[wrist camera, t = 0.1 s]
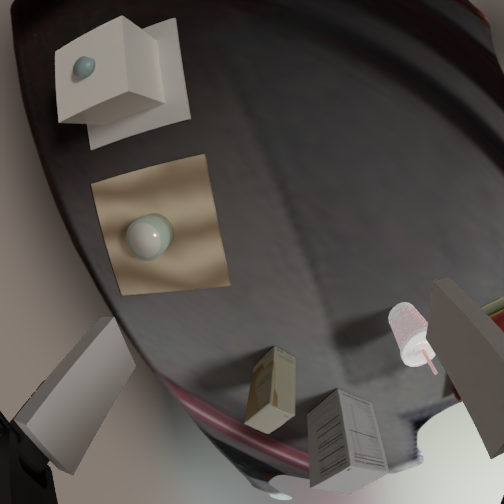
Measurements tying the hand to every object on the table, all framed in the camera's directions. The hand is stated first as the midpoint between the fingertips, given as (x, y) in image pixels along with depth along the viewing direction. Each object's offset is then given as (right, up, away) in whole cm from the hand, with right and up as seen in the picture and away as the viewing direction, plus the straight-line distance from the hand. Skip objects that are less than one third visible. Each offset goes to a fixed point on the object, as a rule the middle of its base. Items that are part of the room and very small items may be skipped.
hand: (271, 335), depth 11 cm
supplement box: (+16, -27, +37) cm, 48 cm away
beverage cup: (+22, -7, +30) cm, 38 cm away
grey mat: (-18, +27, +22) cm, 39 cm away
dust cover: (-18, +26, +22) cm, 39 cm away
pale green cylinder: (-14, +6, +28) cm, 32 cm away
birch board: (-14, +6, +29) cm, 33 cm away
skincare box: (+3, -15, +35) cm, 38 cm away
